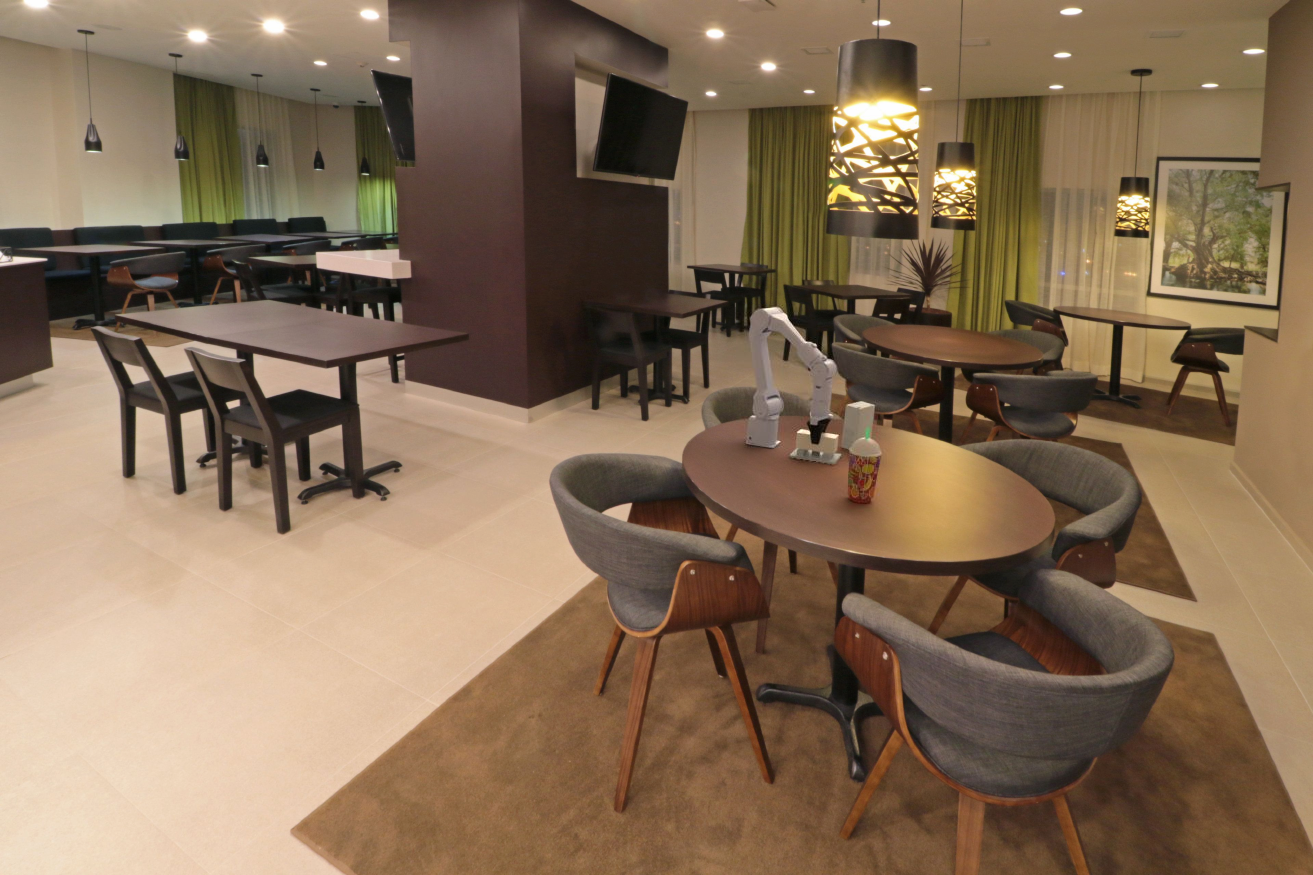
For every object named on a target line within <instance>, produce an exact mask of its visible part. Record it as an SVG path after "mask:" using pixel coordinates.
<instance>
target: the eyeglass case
mask: <svg viewBox="0 0 1313 875" xmlns="http://www.w3.org/2000/svg"><path fill="white" fill-rule="evenodd" d="M839 436H840V435H839V434H836V433H835V434H834V433H828V432H825V433H822V434H821V438H820V441H819V444H818V445H816V444H812V443H811V437H810V431H809V429H799V430H798V431H797V432H796V438H795V439H796V441H795V449H797V448H799V449H805V450H811V451H817V452H823V453H829V454H834V453H836V452H837V451H838V444H839Z"/></svg>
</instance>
